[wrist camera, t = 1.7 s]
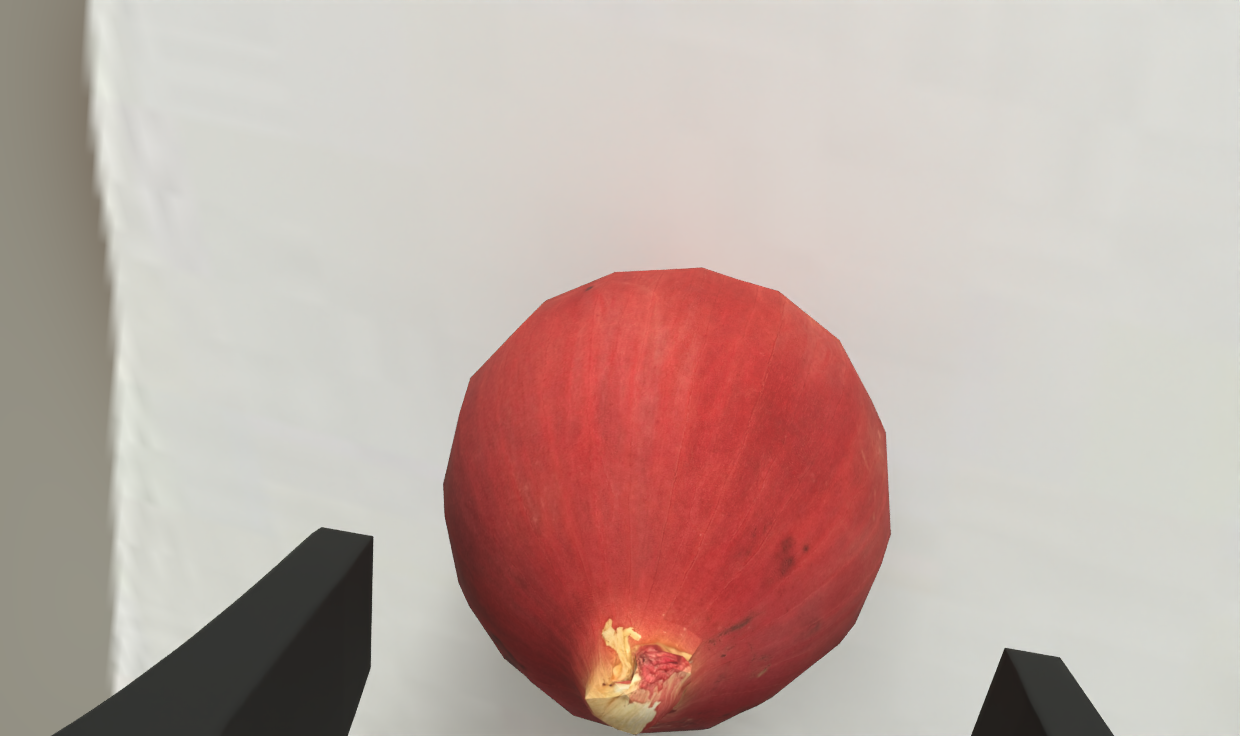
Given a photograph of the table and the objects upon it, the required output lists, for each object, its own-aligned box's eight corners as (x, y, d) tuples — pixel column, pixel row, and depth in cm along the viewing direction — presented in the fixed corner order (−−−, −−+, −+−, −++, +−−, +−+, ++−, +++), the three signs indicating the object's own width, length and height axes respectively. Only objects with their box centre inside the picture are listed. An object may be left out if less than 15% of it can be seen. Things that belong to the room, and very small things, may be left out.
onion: (875, 499, 20) (921, 929, 13) (539, 508, 21) (414, 914, 14) (868, 168, 17) (920, 489, 10) (480, 195, 18) (288, 508, 11)
